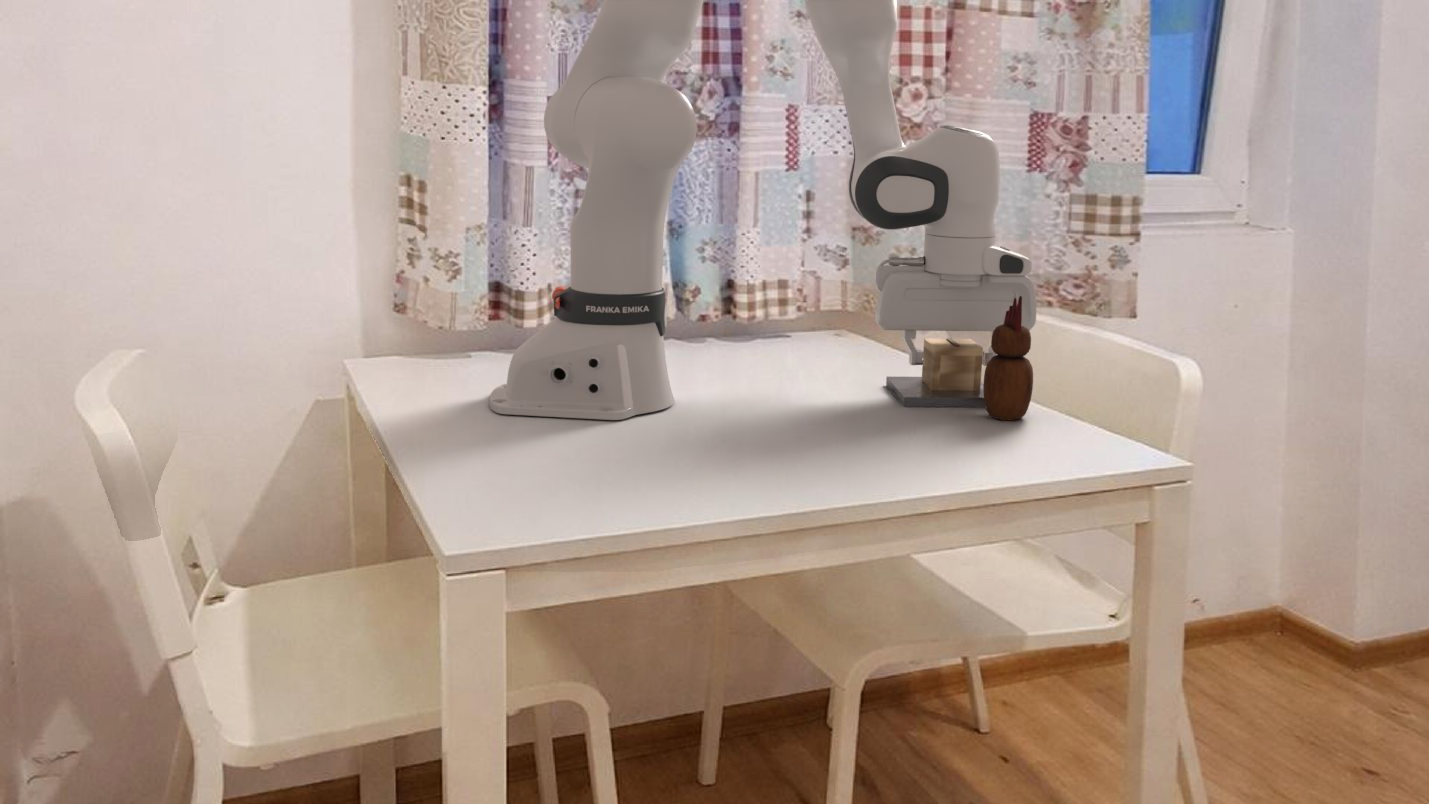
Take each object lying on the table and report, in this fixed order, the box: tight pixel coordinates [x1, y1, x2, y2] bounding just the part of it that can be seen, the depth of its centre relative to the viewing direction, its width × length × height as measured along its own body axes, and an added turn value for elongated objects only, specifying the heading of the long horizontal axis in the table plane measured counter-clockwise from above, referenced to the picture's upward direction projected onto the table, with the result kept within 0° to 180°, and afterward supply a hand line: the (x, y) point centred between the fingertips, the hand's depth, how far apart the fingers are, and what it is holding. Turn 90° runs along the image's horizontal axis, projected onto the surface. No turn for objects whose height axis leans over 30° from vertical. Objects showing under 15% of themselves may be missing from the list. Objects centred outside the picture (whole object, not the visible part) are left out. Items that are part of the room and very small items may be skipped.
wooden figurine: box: [983, 296, 1034, 421], centre depth 157 cm, size 7×6×15 cm
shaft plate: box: [885, 376, 986, 408], centre depth 169 cm, size 12×12×5 cm
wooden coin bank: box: [921, 337, 984, 391], centre depth 170 cm, size 6×6×6 cm
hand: (952, 364), depth 170 cm, fingers open, 8 cm apart
